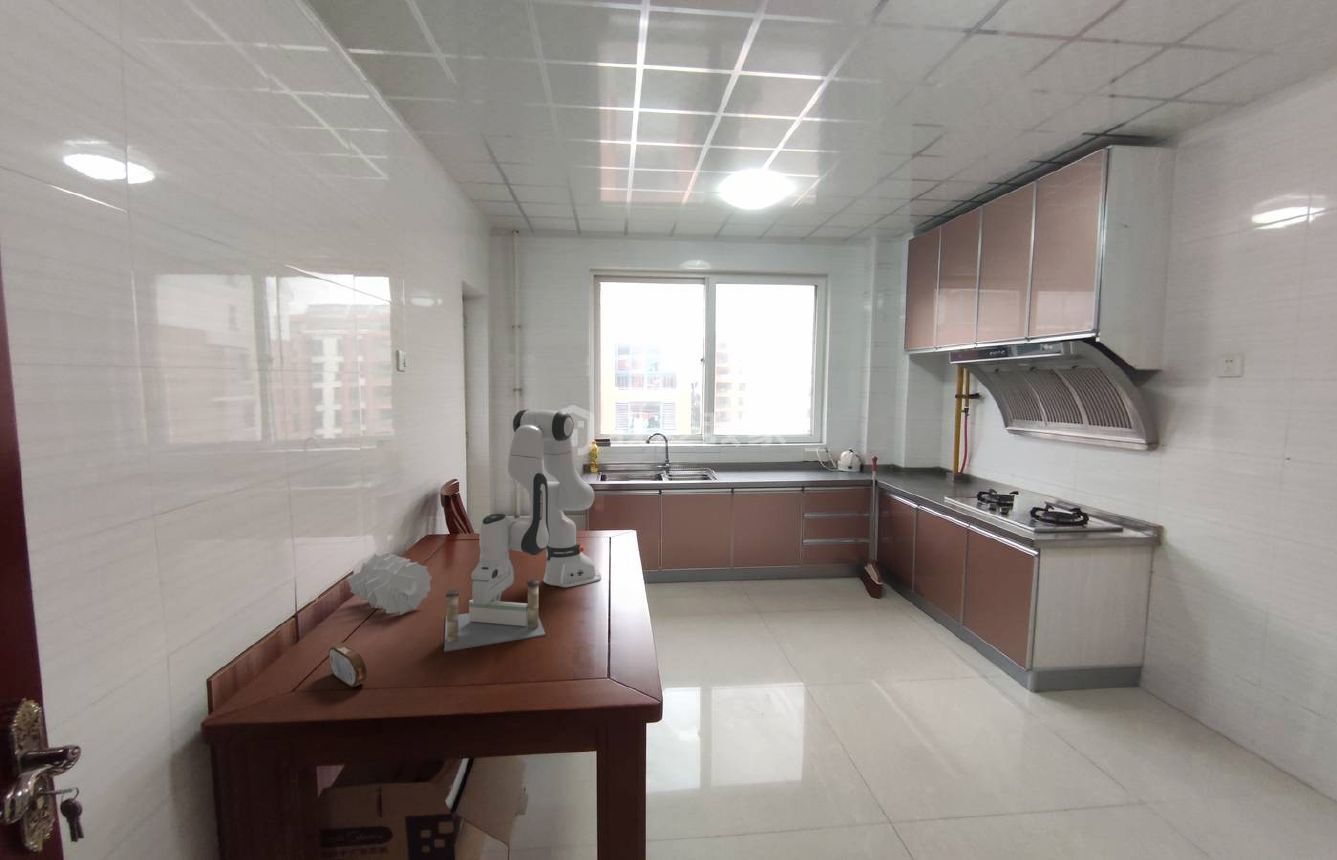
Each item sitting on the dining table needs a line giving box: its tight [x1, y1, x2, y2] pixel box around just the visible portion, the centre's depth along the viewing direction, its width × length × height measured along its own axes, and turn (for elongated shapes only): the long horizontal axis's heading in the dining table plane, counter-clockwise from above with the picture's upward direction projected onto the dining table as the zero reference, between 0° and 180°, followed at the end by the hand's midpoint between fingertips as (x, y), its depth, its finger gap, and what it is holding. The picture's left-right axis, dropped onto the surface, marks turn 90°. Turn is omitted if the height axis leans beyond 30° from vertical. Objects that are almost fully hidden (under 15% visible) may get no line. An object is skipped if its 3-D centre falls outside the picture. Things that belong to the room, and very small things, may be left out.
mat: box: [443, 612, 546, 653], centre depth 160 cm, size 28×24×1 cm
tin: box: [328, 642, 368, 688], centre depth 128 cm, size 15×3×8 cm, turn 56°
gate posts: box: [445, 579, 540, 643], centre depth 154 cm, size 26×4×15 cm, turn 113°
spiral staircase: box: [346, 551, 433, 616], centre depth 173 cm, size 18×18×25 cm
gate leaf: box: [468, 598, 528, 626], centre depth 160 cm, size 19×2×6 cm, turn 81°
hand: (494, 608), depth 164 cm, fingers closed
